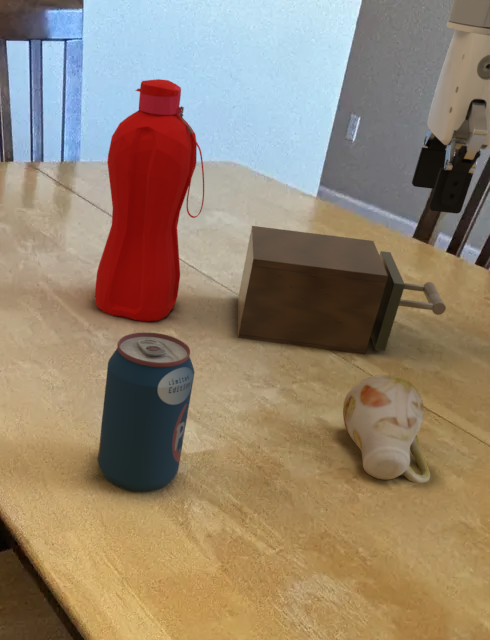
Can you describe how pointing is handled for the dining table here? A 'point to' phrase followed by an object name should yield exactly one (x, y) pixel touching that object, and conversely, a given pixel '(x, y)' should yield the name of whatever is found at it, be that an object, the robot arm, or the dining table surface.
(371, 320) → the cabinet
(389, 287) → the drawer
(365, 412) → the mug
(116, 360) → the soda can
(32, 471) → the dining table surface
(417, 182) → the robot arm
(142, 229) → the water bottle
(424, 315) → the dining table surface
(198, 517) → the dining table surface
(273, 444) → the dining table surface
